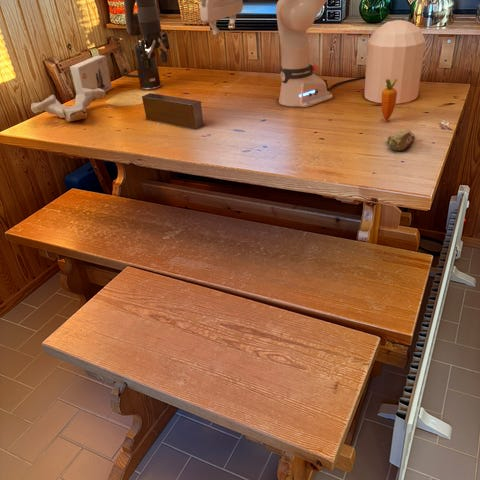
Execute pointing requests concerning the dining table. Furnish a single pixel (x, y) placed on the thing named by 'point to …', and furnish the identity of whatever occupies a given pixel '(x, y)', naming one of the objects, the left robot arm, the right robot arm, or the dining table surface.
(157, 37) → the left robot arm
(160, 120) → the bar
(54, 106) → the animal horns
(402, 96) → the container
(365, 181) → the dining table surface
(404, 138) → the rock
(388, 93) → the carrot
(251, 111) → the dining table surface
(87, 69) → the skincare box
